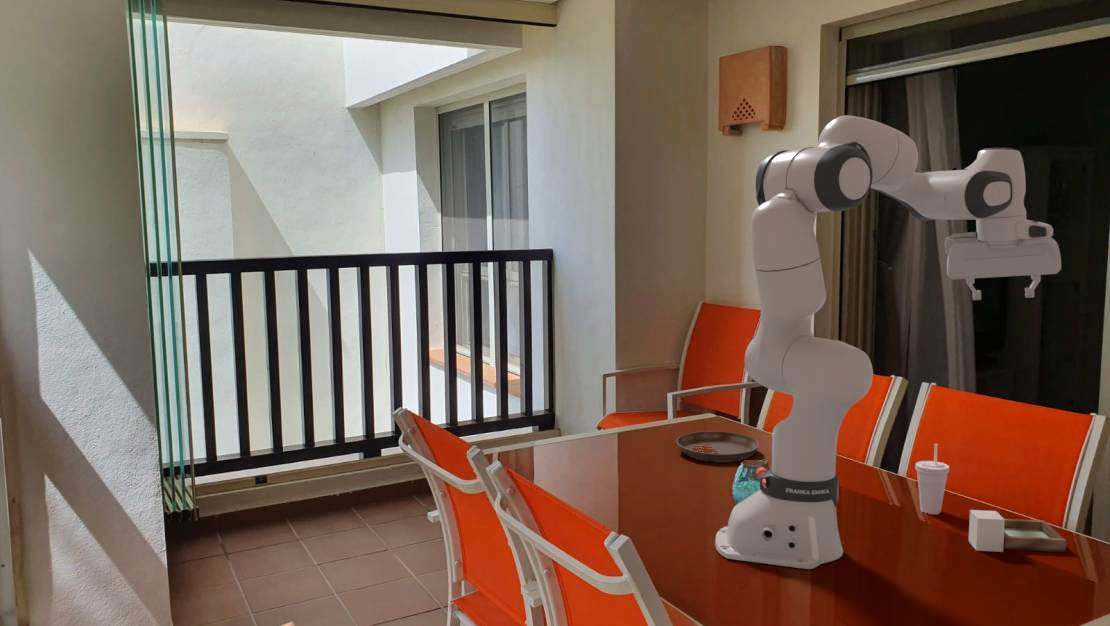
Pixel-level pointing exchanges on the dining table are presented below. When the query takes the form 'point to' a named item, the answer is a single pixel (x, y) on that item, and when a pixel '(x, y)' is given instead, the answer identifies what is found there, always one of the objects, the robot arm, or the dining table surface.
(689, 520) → the dining table surface
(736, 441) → the plant saucer
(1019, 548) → the rest tray
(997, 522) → the cream block
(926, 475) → the smoothie
